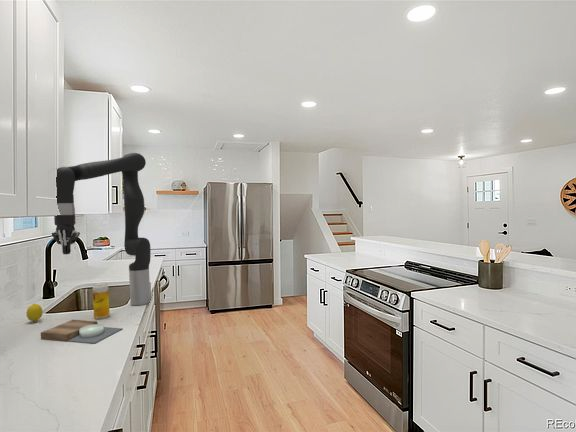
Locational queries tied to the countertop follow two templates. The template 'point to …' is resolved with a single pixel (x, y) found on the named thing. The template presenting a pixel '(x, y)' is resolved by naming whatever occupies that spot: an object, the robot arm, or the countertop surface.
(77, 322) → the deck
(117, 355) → the countertop surface
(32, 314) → the lemon
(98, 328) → the pale green rounded disc
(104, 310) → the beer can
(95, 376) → the countertop surface
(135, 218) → the robot arm
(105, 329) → the mat
